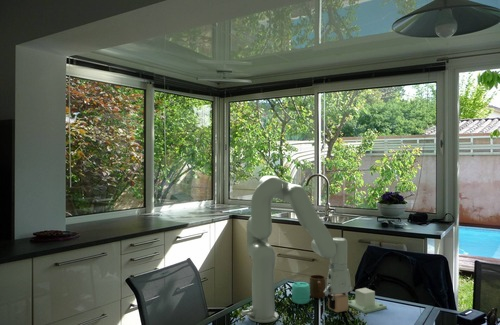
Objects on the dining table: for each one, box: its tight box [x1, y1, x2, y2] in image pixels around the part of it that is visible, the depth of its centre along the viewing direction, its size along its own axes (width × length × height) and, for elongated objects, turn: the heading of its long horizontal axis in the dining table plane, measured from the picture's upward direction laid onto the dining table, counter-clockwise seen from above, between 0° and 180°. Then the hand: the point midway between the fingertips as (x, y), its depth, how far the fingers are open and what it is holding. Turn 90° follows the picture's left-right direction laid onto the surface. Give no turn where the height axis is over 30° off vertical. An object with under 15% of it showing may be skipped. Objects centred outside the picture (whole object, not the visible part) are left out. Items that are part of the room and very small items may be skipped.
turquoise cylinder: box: [291, 281, 311, 305], centre depth 188 cm, size 8×8×8 cm
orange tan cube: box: [327, 294, 349, 313], centre depth 176 cm, size 6×6×6 cm
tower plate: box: [348, 287, 387, 314], centre depth 181 cm, size 13×13×7 cm
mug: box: [309, 274, 327, 299], centre depth 193 cm, size 12×8×9 cm, turn 178°
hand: (338, 306), depth 176 cm, fingers closed on orange tan cube, 6 cm apart
